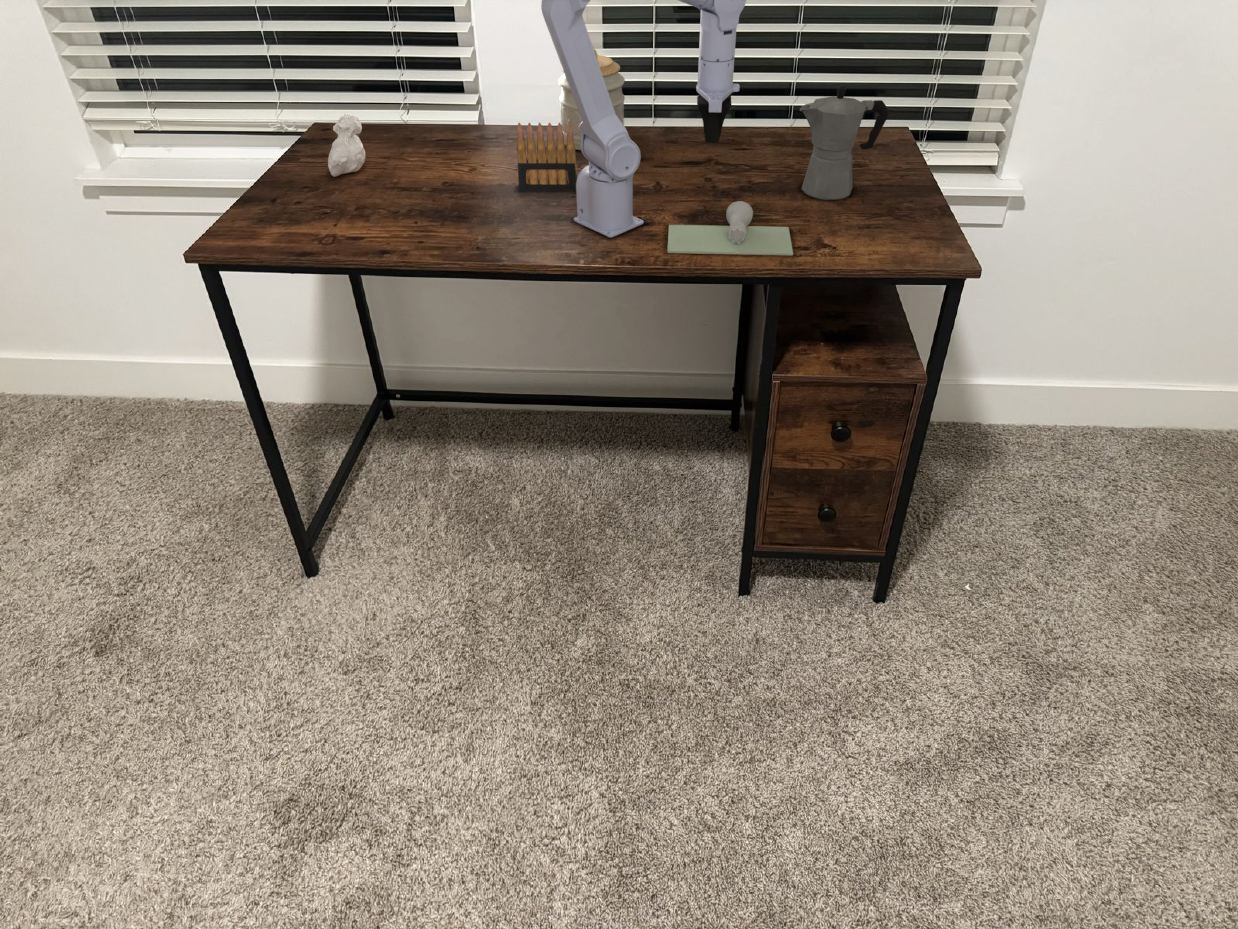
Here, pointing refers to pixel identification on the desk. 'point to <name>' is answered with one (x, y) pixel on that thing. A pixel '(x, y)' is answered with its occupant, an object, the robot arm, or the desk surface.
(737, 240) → the rook chess piece
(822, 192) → the coffeepot
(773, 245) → the mat
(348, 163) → the white tied sack
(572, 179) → the ammunition clip
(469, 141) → the desk surface
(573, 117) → the jar
